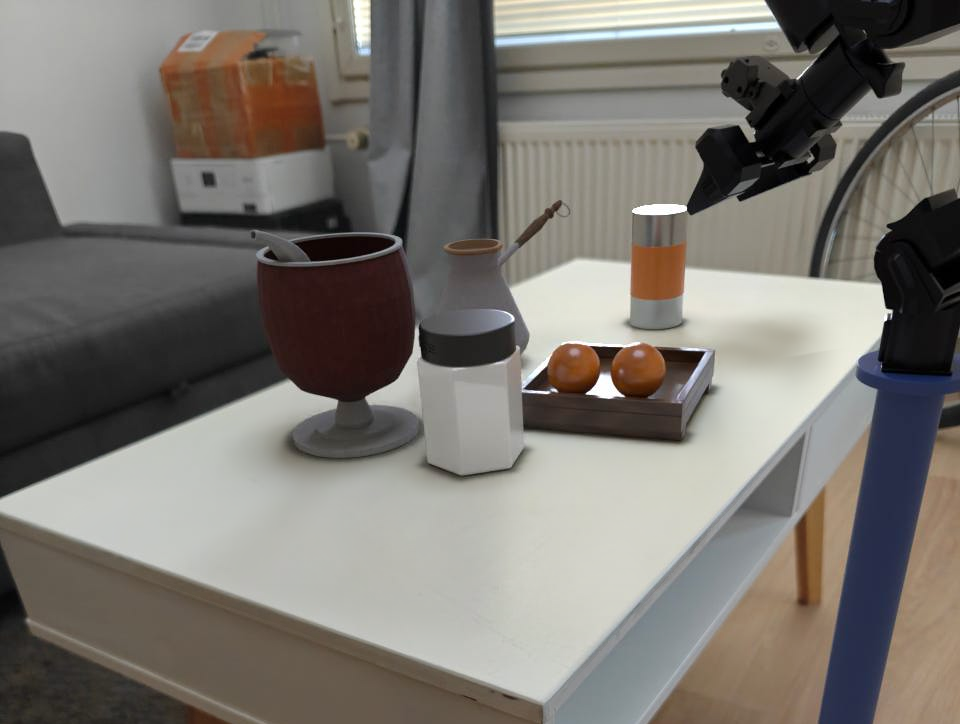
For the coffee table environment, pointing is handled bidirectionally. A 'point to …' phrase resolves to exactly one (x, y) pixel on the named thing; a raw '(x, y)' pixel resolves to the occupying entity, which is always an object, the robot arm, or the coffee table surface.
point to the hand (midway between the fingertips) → (713, 204)
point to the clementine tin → (658, 266)
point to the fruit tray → (617, 389)
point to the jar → (471, 390)
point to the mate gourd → (340, 333)
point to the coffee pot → (487, 275)
